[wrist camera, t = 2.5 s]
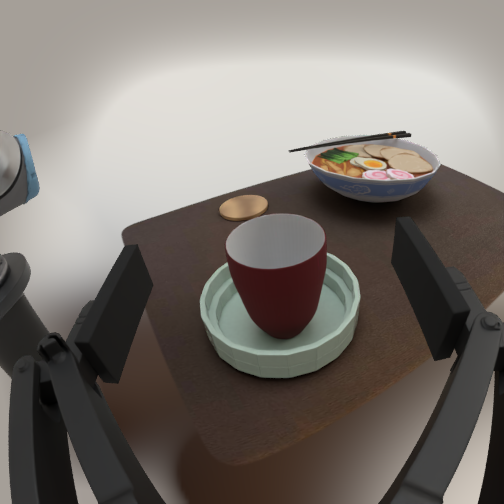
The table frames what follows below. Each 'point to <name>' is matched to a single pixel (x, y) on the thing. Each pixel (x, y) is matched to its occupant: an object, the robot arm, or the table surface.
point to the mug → (278, 270)
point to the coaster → (243, 207)
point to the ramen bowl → (372, 166)
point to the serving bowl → (281, 350)
